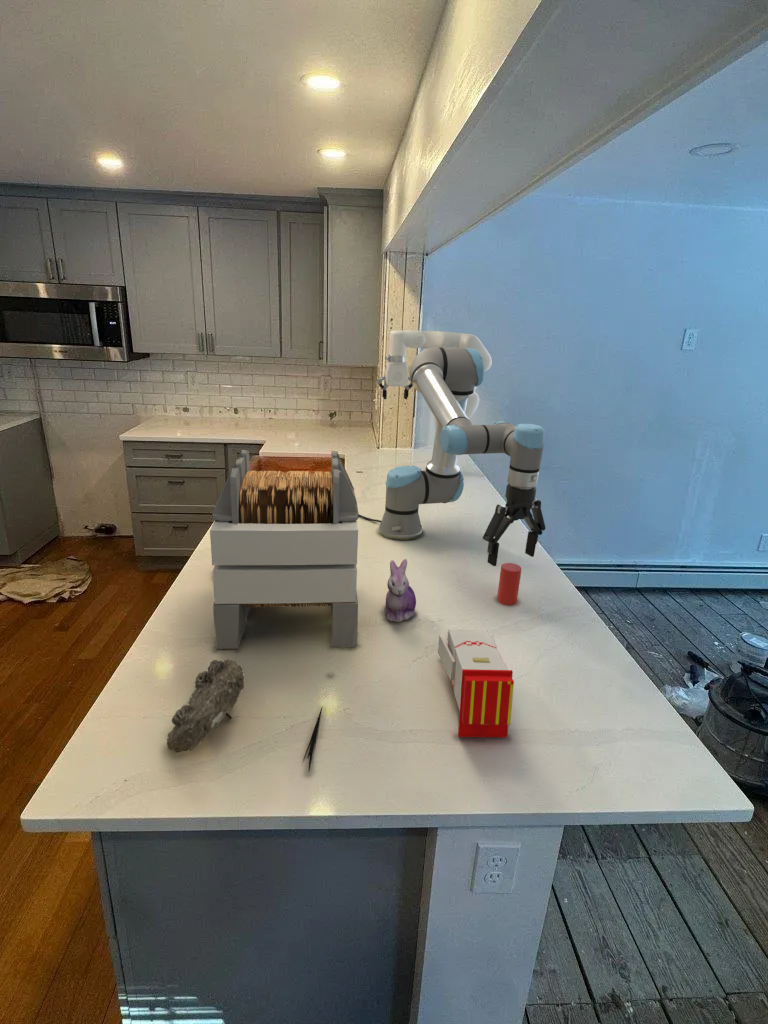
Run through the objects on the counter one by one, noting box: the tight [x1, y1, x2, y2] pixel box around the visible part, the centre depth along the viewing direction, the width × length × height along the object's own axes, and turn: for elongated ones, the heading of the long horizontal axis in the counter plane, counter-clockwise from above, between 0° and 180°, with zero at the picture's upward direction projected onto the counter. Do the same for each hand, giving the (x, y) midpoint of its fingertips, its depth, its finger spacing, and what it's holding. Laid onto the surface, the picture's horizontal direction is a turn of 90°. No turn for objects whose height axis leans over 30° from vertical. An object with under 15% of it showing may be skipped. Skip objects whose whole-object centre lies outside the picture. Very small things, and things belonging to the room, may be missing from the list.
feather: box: [301, 673, 332, 771], centre depth 108 cm, size 2×28×2 cm
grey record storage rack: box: [209, 449, 360, 651], centre depth 139 cm, size 34×33×41 cm
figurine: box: [384, 558, 417, 623], centre depth 145 cm, size 9×10×15 cm
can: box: [496, 562, 523, 606], centre depth 155 cm, size 6×6×10 cm
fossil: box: [166, 658, 245, 754], centre depth 106 cm, size 22×10×15 cm
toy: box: [437, 628, 515, 738], centre depth 117 cm, size 12×13×30 cm
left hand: (510, 559), depth 153 cm, fingers open, 13 cm apart
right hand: (395, 398), depth 255 cm, fingers open, 9 cm apart
